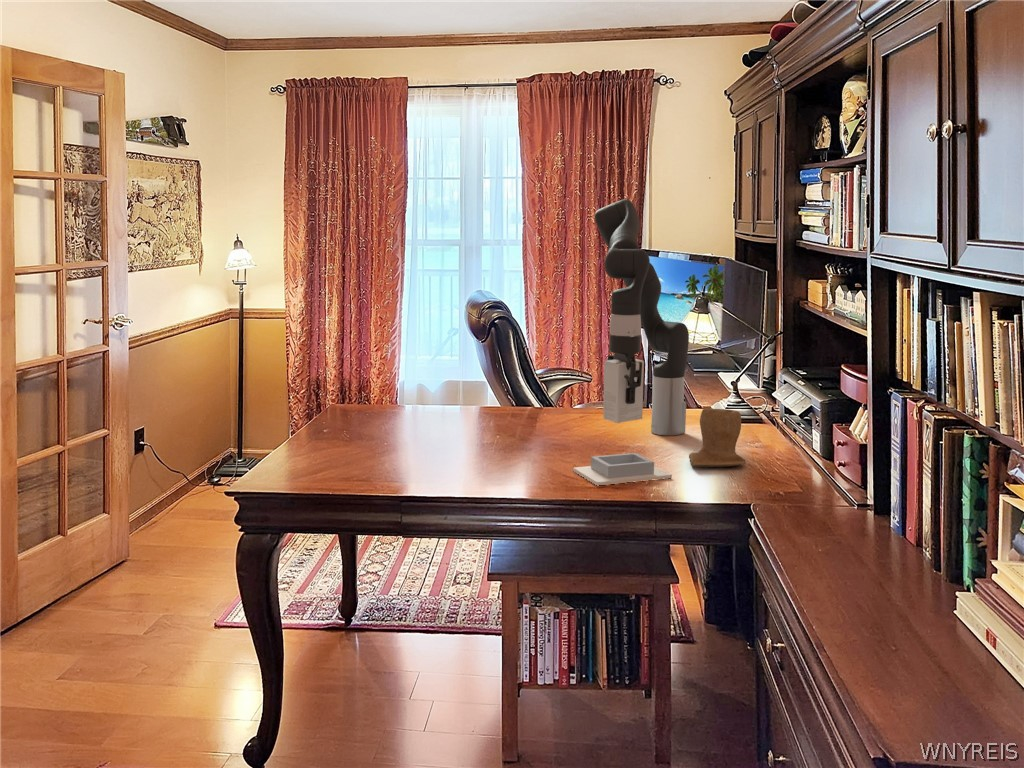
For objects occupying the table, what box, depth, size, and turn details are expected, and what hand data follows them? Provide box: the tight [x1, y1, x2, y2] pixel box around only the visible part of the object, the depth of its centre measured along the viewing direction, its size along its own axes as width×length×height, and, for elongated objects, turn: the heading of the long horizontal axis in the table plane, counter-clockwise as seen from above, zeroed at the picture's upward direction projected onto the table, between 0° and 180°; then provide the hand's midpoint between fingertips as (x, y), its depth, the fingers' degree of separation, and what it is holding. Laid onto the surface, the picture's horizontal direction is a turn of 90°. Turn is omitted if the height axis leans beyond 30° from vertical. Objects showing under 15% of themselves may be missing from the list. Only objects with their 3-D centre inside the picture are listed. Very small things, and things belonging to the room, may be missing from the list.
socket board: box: [572, 452, 673, 487], centre depth 220 cm, size 20×14×4 cm
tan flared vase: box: [688, 407, 747, 468], centre depth 229 cm, size 15×12×15 cm
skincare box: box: [602, 358, 645, 424], centre depth 217 cm, size 8×6×15 cm
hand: (623, 400), depth 218 cm, fingers closed on skincare box, 6 cm apart
